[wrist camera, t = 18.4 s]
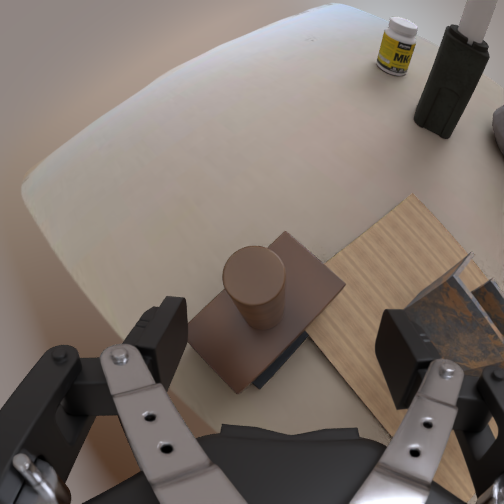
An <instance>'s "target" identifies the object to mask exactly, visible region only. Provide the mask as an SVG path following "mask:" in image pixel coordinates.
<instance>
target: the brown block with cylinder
mask: <svg viewBox="0 0 504 504" xmlns="http://www.w3.org/2000/svg"><path fill="white" fill-rule="evenodd" d="M222 279H223V285H224V288H225V289H224V290H222V291H221V292H220V293H219V294H218V295H217V296H216V297H215V298H214V299H213V300H212V301H211V302H210V303H209V304H208V305H207V306H206V307H205V308H204V309H202V310H201V311H200V312H199V313H198V314H197V315H196V316H195V317H194V318H193V319H192V320H191V321H190V322H189V323H188V341H187V342H188V343H189V344H190V345H191V346H192V347H193V348H194V349H195V351H196V352H197V353H198V354H199V355H200V356H201V357H202V358H203V359H204V360H205V361H206V362H207V364H208V365H209V366H210V367H211V368H212V369H213V370H214V371H215V372H216V373H217V374H218V375H219V376H220V377H221V378H222V379H223V380H224V381H225V382H226V383H227V384H228V385H229V387H230V388H231V389H232V390H233V391H234V392H235V393H236V394H240V393H242V392H243V391H244V390H245V389H246V388H247V387H248V386H249V385H250V384H251V383H252V382H253V381H254V380H256V379H257V378H258V377H259V376H260V375H261V374H262V373H263V372H264V371H265V370H266V369H267V368H268V367H269V366H270V365H271V364H272V363H273V362H274V361H275V360H276V359H277V358H278V357H279V356H280V355H281V354H282V353H283V352H284V351H285V350H286V349H287V348H288V347H289V346H290V345H291V344H292V343H293V342H294V341H295V340H296V339H297V338H298V337H299V336H300V335H301V334H302V333H303V332H304V331H305V330H306V329H307V328H308V327H309V326H310V325H311V324H312V323H313V321H314V320H315V319H316V318H317V317H318V316H319V315H320V314H321V313H322V312H323V311H324V310H325V309H326V308H327V306H328V305H329V304H330V303H331V302H332V301H333V300H334V299H335V298H336V297H337V296H338V294H339V293H340V292H341V291H342V290H343V288H344V287H345V285H346V283H345V282H344V281H343V280H341V279H340V278H339V277H338V276H337V275H336V274H335V273H334V272H332V271H331V270H330V269H329V268H328V267H327V266H326V265H325V264H323V263H322V262H321V261H320V260H319V259H318V258H317V257H315V256H314V255H313V254H312V253H311V252H310V251H308V250H307V249H306V248H305V247H304V246H303V245H302V244H300V243H299V242H298V241H297V240H296V239H295V238H293V237H292V236H291V235H290V234H289V233H288V232H286V231H284V232H283V233H282V234H281V235H280V236H279V237H278V238H277V239H276V240H275V241H274V242H273V243H272V244H271V245H270V246H269V247H268V248H265V247H261V246H248V247H245V248H242V249H240V250H238V251H236V252H235V253H234V254H233V255H232V256H231V257H230V258H229V259H228V260H227V262H226V264H225V266H224V269H223V275H222Z"/></svg>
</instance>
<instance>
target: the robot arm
mask: <svg viewBox="0 0 504 504" xmlns="http://www.w3.org/2000/svg"><path fill="white" fill-rule="evenodd" d="M426 335H427V334H426V333H425V331H424V330H423V328H422V327H421V326H419V325H418V324H417V323H415V322H414V321H410V319H409V318H408V316H407V315H406V313H405V312H404V310H403V309H385V310H384V311H383V314H382V318H381V322H380V326H379V329H378V333H377V337H376V341H375V355H376V358H377V360H378V363H379V365H380V368H381V370H382V373H383V375H384V378H385V381H386V383H387V386H388V388H389V391H390V394H391V396H392V399H393V402H394V405H395V407H396V410H402V409H408V411H407V413H406V415H405V416H404V418H403V420H402V422H401V424H400V426H399V427H398V429H397V431H396V433H395V435H394V436H393V438H392V440H391V441H390V443H389V445H388V447H387V446H385V445H383V444H381V443H379V442H376V441H374V440H371V439H367V438H362V437H359V433H358V428H337V429H322V430H317V431H313V432H308V433H302V434H297V435H287V434H282V433H278V432H274V431H270V430H266V429H262V428H258V427H250V426H238V425H227V424H222V426H221V432H220V433H217V434H210V435H205V436H202V437H198V438H196V439H195V437H194V436H193V434H192V433H191V431H190V430H189V428H188V426H187V425H186V423H185V422H184V420H183V419H182V417H181V415H180V414H179V412H178V411H177V409H176V407H175V406H174V404H173V402H172V401H171V399H170V397H169V396H168V394H167V391H168V388H169V386H170V384H171V381H172V379H173V376H174V374H175V372H176V369H177V367H178V364H179V362H180V359H181V357H182V355H183V352H184V350H185V348H186V345H187V341H188V320H187V304H186V299H185V298H183V297H172V296H166V298H165V299H164V300H163V302H162V303H161V305H160V306H159V307H152V308H150V309H149V310H147V311H146V312H144V313H143V315H142V316H141V318H140V319H139V321H138V322H137V323H136V325H135V327H133V329H132V330H131V332H130V333H129V335H128V336H127V337H126V339H125V340H124V342H123V343H122V344H116V345H113V346H110V347H108V348H106V349H105V350H104V351H103V352H102V353H101V355H100V357H98V358H80V357H79V354H78V351H77V350H76V348H74V347H72V346H69V345H59V346H55V347H52V348H50V349H49V350H47V351H46V352H45V353H44V355H43V356H42V357H41V358H40V360H39V361H38V362H37V363H36V364H35V366H34V367H33V368H32V369H31V371H30V372H29V373H28V374H27V376H26V377H25V378H24V379H23V381H22V382H21V383H20V384H19V386H18V387H17V388H16V390H15V391H14V392H13V394H12V395H11V396H10V398H9V399H8V400H7V402H6V403H5V404H4V406H3V407H2V408H1V410H0V504H70V503H71V493H70V490H69V488H68V487H67V486H66V484H65V483H66V480H67V478H68V476H69V473H70V471H71V469H72V467H73V465H74V463H75V460H76V458H77V456H78V454H79V452H80V449H81V447H82V445H83V443H84V441H85V439H86V437H87V435H88V432H89V430H90V428H91V426H92V424H93V422H94V420H95V418H96V416H99V415H102V416H105V415H118V418H119V421H120V423H121V426H122V428H123V431H124V433H125V436H126V438H127V441H128V443H129V445H130V447H131V450H132V452H133V455H134V457H135V459H136V461H137V464H138V466H139V468H140V470H141V471H140V472H139V473H137V474H135V475H134V476H132V477H130V478H128V479H127V480H125V481H123V482H121V483H119V484H118V485H116V486H114V487H112V488H110V489H109V490H107V491H105V492H103V493H101V494H100V495H97V496H96V497H94V498H92V499H90V500H88V501H86V502H84V503H82V504H467V503H466V502H464V501H463V500H461V499H460V498H458V497H457V496H455V495H454V494H452V493H451V492H449V491H448V490H446V489H445V488H444V487H442V486H441V485H439V484H438V483H436V482H435V481H434V480H433V478H434V475H435V473H436V471H437V468H438V466H439V463H440V461H441V458H442V456H443V453H444V450H445V448H446V445H447V442H448V439H449V436H450V434H451V431H452V430H454V432H455V435H456V438H457V440H458V443H459V445H460V448H461V451H462V454H463V456H464V459H465V462H466V465H467V468H468V471H469V474H470V477H471V480H472V483H473V486H474V489H475V492H476V495H477V501H476V504H504V369H503V368H500V367H498V366H487V367H485V368H484V369H483V371H482V373H481V375H480V377H478V376H470V375H464V372H463V369H462V368H461V367H460V366H459V365H458V364H457V363H455V362H453V361H451V360H448V359H442V357H441V356H440V354H439V353H438V351H437V350H436V348H435V346H434V345H433V343H432V342H430V339H429V337H428V336H426ZM492 417H493V418H494V420H495V422H496V424H497V426H498V435H497V438H496V439H495V437H494V435H493V433H492V431H491V428H490V426H489V424H488V423H489V422H490V420H491V419H492Z"/></svg>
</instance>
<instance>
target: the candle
mask: <svg viewBox="0 0 504 504" xmlns="http://www.w3.org/2000/svg"><path fill="white" fill-rule="evenodd" d="M496 3H497V0H467V2H466V5H465V8H464V11H463V15H462V18H461V21H460V24H459V26H458V25H451V26H447V27H446V30H445V33H444V36H443V39H442V42H441V45H440V47H439V50H438V53H437V56H436V59H435V61H434V64H433V67H432V70H431V72H430V75H429V77H428V80H427V83H426V85H425V88H424V90H423V93H422V95H421V98H420V100H419V103H418V105H417V108H416V112H415V116H414V120H415V122H416V123H417V124H418V125H419V126H421V127H424V128H426V129H428V130H430V131H432V132H434V133H436V134H438V135H440V137H442V138H445V139H448V138H449V137H450V136H451V134H452V132H453V130H454V128H455V127H456V125H457V123H458V121H459V119H460V117H461V115H462V114H463V112H464V110H465V108H466V106H467V104H468V102H469V100H470V98H471V96H472V94H473V92H474V90H475V88H476V86H477V84H478V82H479V79H480V77H481V75H482V73H483V71H484V69H485V66H486V64H487V62H488V60H489V53H488V47H489V46H488V44H487V43H486V42H485V41H484V40H483V38H484V36H485V33H486V30H487V28H488V26H489V23H490V20H491V17H492V15H493V12H494V9H495V6H496Z"/></svg>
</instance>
